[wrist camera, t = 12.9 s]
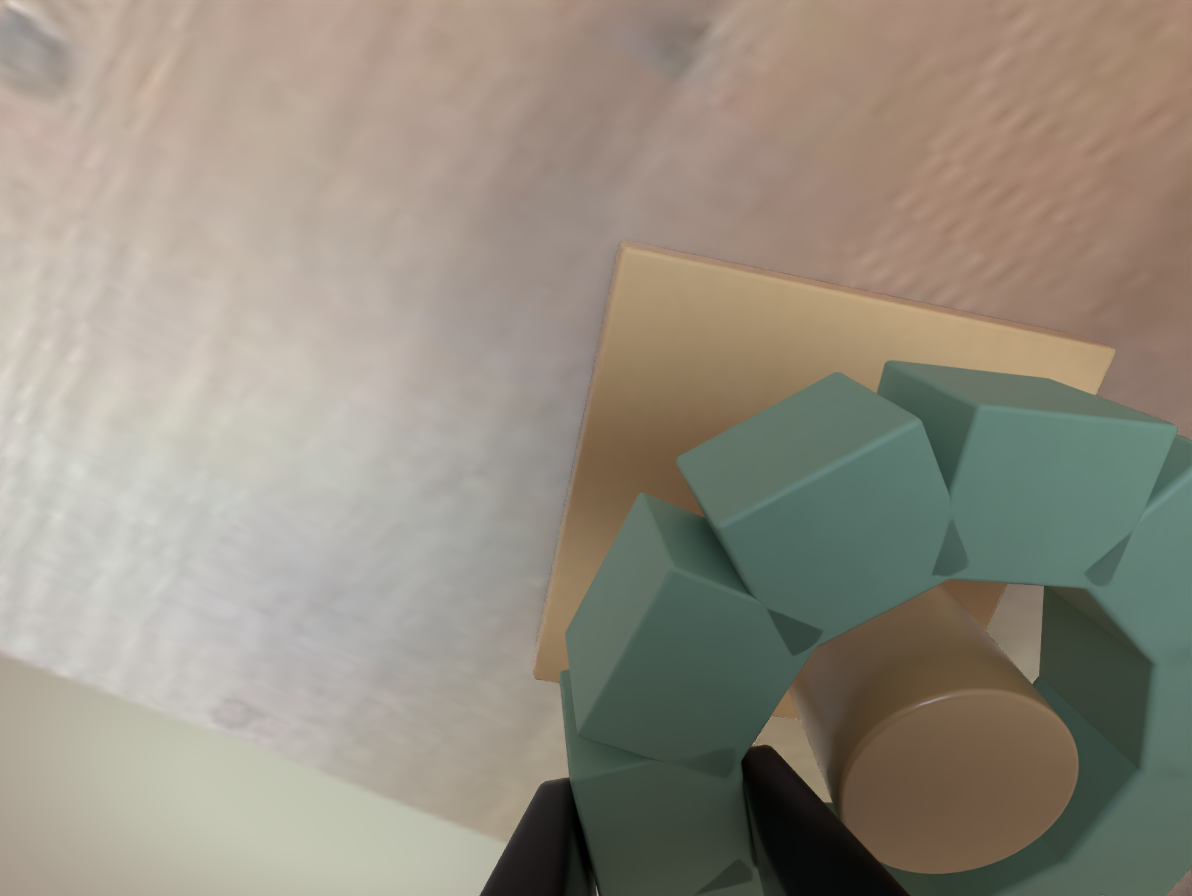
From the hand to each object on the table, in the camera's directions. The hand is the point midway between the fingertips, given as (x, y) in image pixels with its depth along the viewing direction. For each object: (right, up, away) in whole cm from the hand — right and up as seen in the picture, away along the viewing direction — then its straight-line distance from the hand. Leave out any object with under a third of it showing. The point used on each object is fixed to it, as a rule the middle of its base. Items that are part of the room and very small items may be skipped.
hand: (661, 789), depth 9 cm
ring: (+3, +1, +1) cm, 3 cm away
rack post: (+3, +3, +6) cm, 7 cm away
